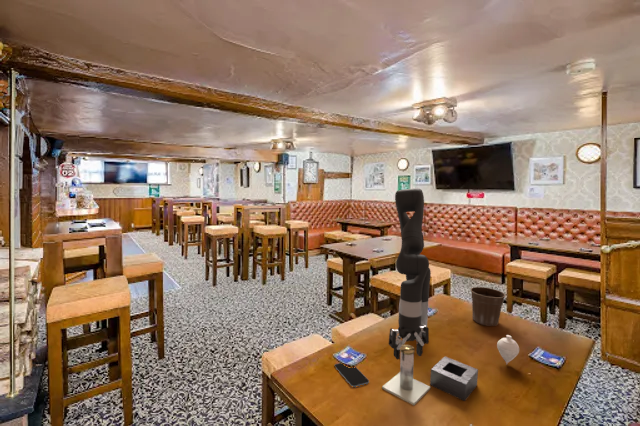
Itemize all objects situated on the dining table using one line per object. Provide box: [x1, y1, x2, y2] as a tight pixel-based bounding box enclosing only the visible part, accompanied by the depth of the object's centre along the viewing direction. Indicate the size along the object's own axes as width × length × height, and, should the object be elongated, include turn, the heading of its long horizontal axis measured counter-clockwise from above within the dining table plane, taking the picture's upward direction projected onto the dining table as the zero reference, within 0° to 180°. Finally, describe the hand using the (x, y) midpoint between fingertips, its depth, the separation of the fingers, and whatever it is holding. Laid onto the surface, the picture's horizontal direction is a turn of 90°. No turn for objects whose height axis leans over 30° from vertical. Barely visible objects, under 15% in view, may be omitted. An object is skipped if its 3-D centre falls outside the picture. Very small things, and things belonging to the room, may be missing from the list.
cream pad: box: [382, 372, 431, 406], centre depth 111 cm, size 12×12×1 cm
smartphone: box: [334, 362, 370, 388], centre depth 119 cm, size 7×1×15 cm
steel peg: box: [399, 344, 416, 390], centre depth 111 cm, size 5×5×14 cm
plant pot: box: [470, 286, 506, 327], centre depth 167 cm, size 16×16×16 cm
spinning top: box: [496, 334, 520, 365], centre depth 127 cm, size 8×8×12 cm
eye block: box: [429, 356, 479, 402], centre depth 113 cm, size 12×12×6 cm
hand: (408, 356), depth 110 cm, fingers open, 8 cm apart
